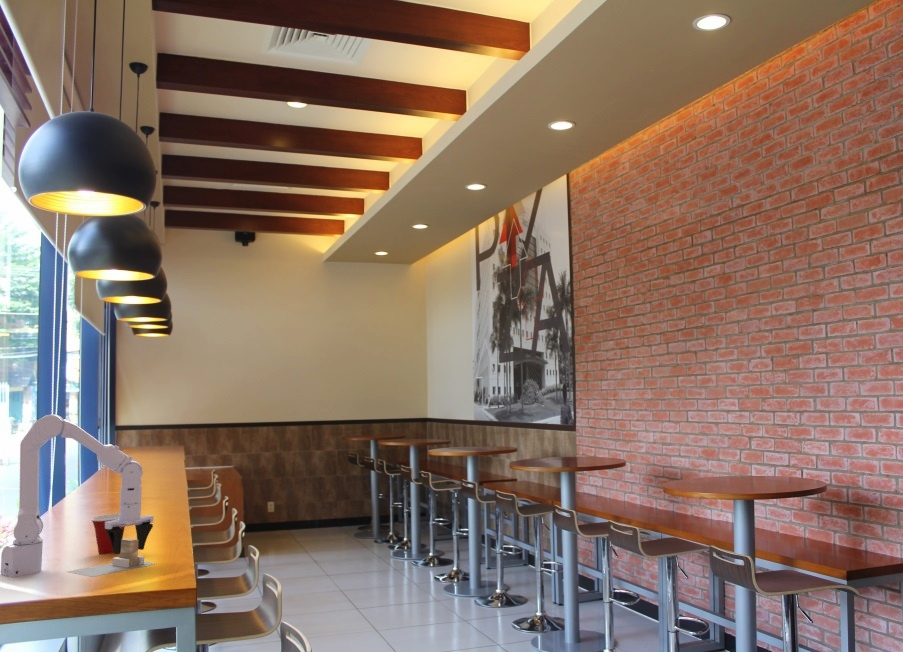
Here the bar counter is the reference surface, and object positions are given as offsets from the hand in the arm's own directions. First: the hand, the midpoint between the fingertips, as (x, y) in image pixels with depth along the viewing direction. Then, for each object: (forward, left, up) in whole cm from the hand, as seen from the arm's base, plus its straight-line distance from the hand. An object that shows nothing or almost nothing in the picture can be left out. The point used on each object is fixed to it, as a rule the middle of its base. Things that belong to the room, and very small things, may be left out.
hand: (128, 551), depth 226 cm
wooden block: (0, 0, -4) cm, 4 cm away
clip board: (-5, 0, -5) cm, 7 cm away
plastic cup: (+9, +23, -5) cm, 25 cm away
